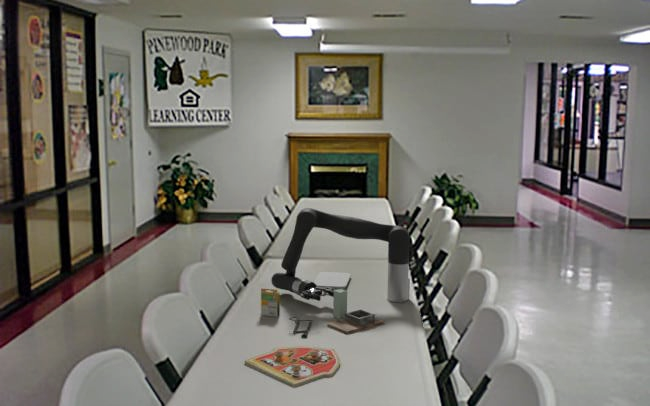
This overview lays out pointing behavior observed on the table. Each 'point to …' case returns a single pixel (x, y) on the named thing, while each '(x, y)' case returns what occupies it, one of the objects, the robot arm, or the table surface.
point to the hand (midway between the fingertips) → (327, 296)
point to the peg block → (340, 303)
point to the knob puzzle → (297, 364)
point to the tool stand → (355, 322)
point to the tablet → (332, 280)
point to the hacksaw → (301, 331)
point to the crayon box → (270, 303)
